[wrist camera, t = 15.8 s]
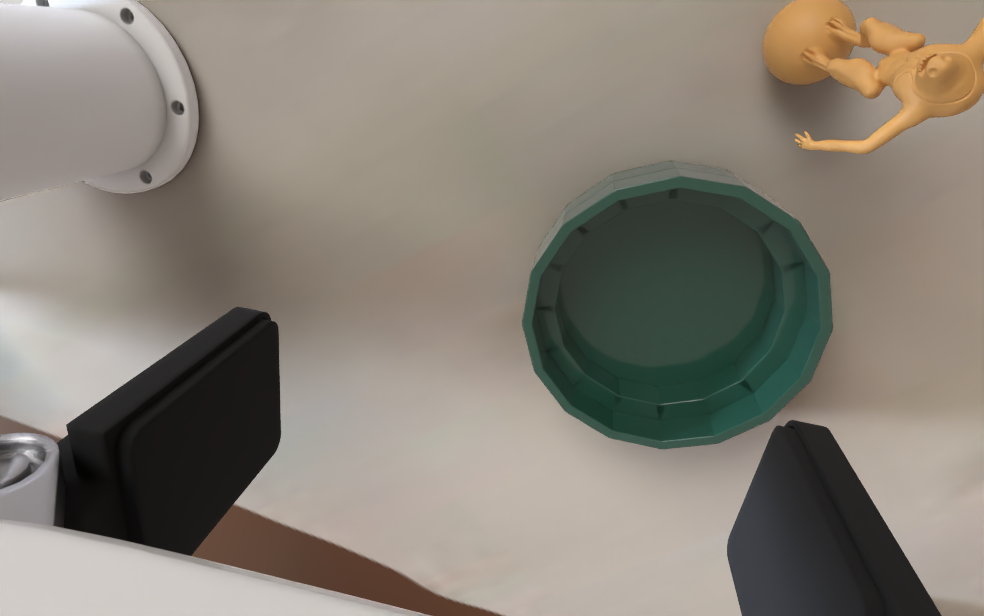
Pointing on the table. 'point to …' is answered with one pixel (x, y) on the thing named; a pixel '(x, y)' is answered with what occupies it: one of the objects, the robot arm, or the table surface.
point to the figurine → (907, 70)
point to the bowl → (676, 306)
